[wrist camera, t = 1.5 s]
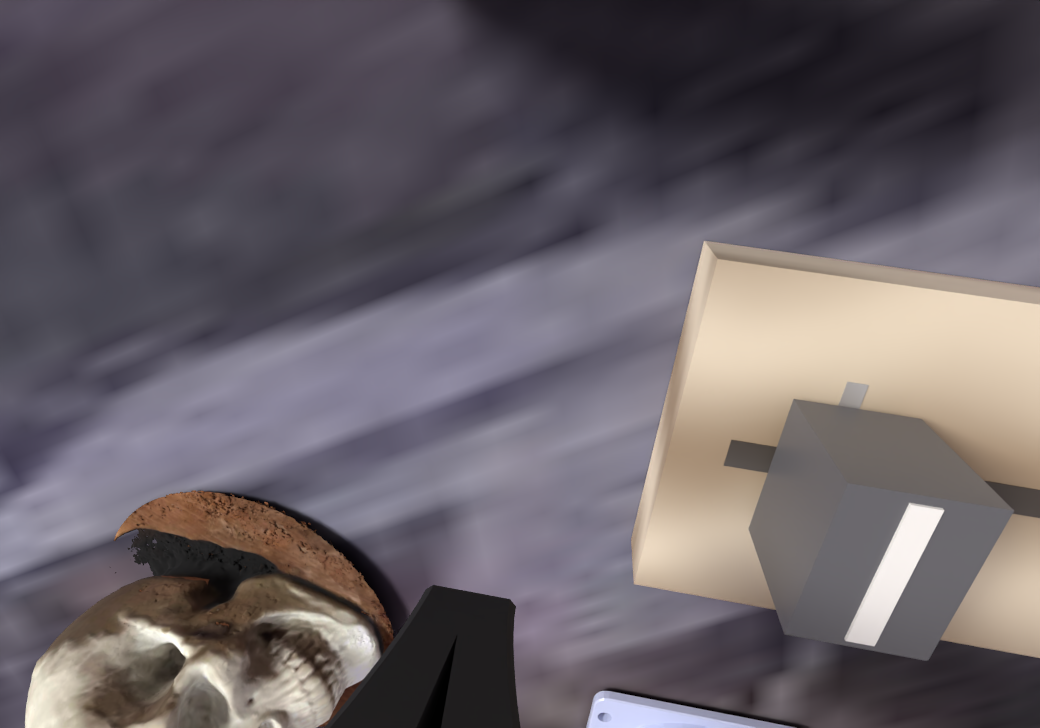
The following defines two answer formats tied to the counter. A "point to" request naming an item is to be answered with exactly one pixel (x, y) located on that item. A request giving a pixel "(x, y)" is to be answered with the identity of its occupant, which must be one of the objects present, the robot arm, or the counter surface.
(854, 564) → the fader knob
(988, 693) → the counter surface
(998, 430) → the slider board
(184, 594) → the skull
